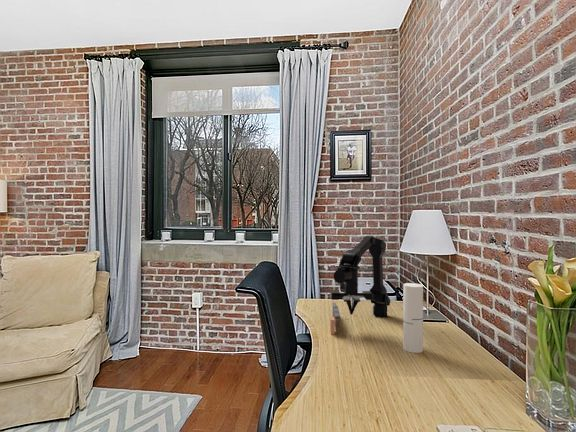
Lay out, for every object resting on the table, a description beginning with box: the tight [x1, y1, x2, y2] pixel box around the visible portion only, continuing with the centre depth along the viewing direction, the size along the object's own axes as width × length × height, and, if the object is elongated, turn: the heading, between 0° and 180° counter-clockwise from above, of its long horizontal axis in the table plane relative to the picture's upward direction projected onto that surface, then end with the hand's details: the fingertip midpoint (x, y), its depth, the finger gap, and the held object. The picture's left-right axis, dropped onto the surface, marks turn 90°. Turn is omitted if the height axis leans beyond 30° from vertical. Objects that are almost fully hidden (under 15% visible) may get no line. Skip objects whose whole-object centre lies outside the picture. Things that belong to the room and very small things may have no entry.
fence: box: [329, 302, 338, 335], centre depth 156 cm, size 4×27×8 cm, turn 176°
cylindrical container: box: [402, 282, 424, 354], centre depth 127 cm, size 7×7×25 cm
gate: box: [332, 306, 341, 333], centre depth 151 cm, size 16×2×7 cm, turn 175°
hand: (351, 314), depth 148 cm, fingers closed
